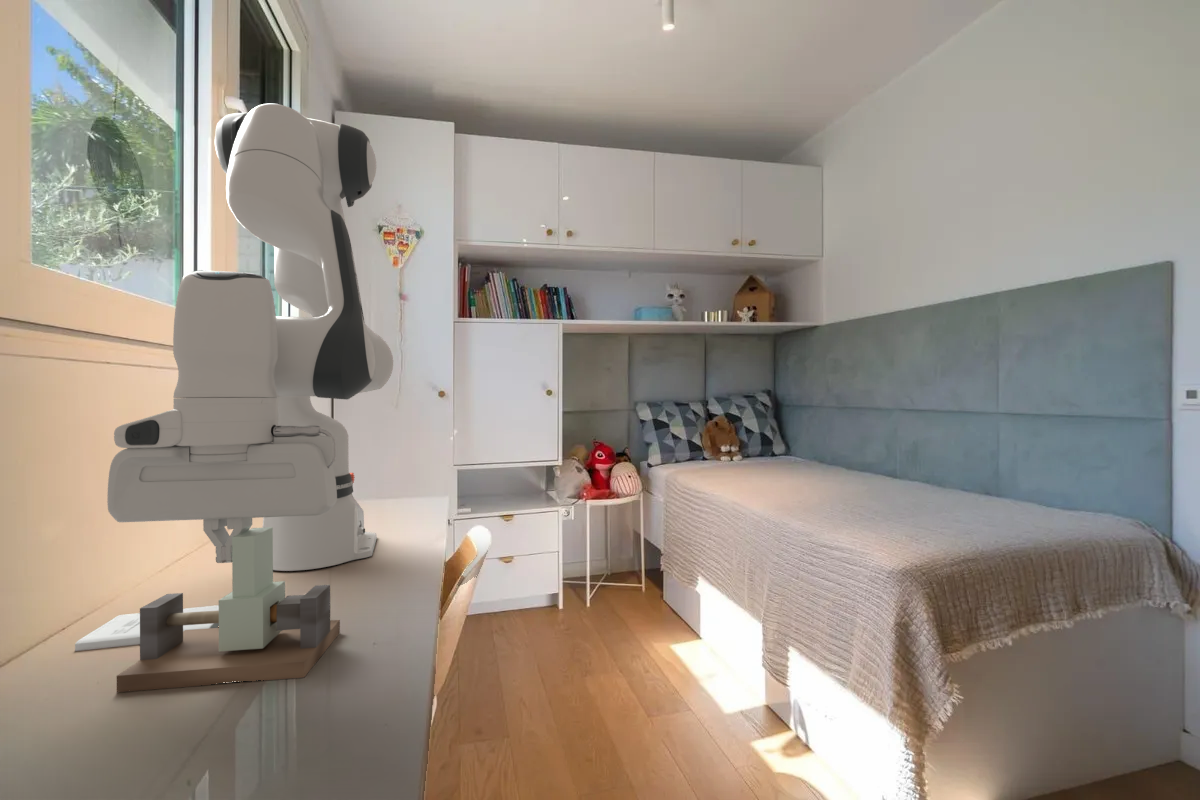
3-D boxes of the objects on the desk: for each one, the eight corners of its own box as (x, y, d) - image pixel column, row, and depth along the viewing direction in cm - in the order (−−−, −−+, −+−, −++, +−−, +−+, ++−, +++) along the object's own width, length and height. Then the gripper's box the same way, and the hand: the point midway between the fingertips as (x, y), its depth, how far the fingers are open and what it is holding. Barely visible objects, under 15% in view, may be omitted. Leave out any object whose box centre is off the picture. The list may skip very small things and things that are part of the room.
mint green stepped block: (245, 630, 57) (244, 527, 57) (285, 627, 57) (284, 525, 58) (218, 651, 52) (218, 538, 52) (263, 648, 53) (262, 537, 53)
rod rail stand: (185, 643, 58) (185, 584, 58) (339, 632, 61) (339, 575, 61) (116, 692, 48) (116, 620, 48) (304, 677, 51) (303, 609, 51)
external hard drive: (208, 642, 60) (74, 656, 57) (237, 614, 68) (121, 625, 65) (208, 627, 60) (74, 641, 57) (237, 601, 68) (121, 612, 65)
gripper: (345, 423, 59) (346, 548, 59) (142, 426, 56) (143, 557, 56) (323, 426, 53) (324, 565, 53) (94, 429, 50) (94, 576, 50)
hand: (229, 561), depth 54 cm, fingers closed
